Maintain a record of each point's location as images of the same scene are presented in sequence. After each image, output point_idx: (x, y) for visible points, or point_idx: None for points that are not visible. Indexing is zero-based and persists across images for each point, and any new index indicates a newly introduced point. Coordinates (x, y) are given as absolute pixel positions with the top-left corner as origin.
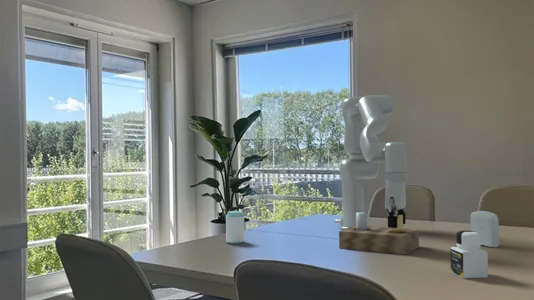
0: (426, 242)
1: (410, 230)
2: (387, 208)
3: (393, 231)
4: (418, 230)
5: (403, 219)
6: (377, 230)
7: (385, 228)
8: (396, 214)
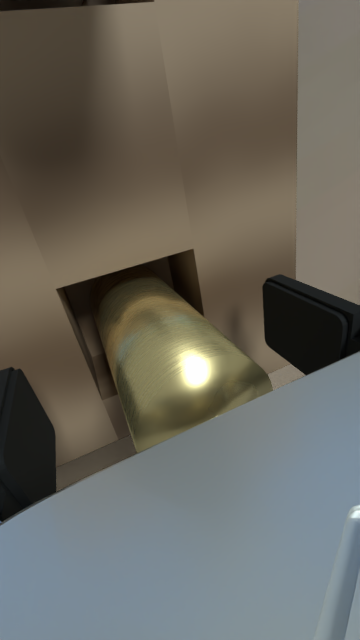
0: (332, 291)
1: (250, 349)
2: (103, 486)
3: (102, 331)
4: (287, 362)
5: (291, 355)
6: (90, 143)
7: (246, 149)
8: (232, 402)
